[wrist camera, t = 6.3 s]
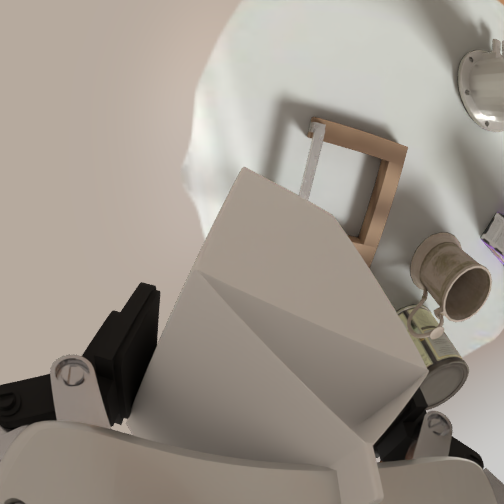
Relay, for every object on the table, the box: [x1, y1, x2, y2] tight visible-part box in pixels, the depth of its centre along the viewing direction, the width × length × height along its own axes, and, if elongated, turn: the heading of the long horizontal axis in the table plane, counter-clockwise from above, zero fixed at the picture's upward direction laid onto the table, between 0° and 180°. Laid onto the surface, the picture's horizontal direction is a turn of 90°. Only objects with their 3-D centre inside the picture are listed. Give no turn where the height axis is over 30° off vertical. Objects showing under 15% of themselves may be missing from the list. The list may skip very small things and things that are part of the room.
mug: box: [407, 232, 492, 339], centre depth 35 cm, size 14×10×12 cm
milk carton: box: [126, 167, 429, 504], centre depth 13 cm, size 7×7×19 cm
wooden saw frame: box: [307, 117, 408, 268], centre depth 36 cm, size 19×12×2 cm, turn 169°
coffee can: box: [397, 305, 469, 410], centre depth 39 cm, size 10×10×14 cm
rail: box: [299, 122, 326, 201], centre depth 34 cm, size 16×1×4 cm, turn 169°
